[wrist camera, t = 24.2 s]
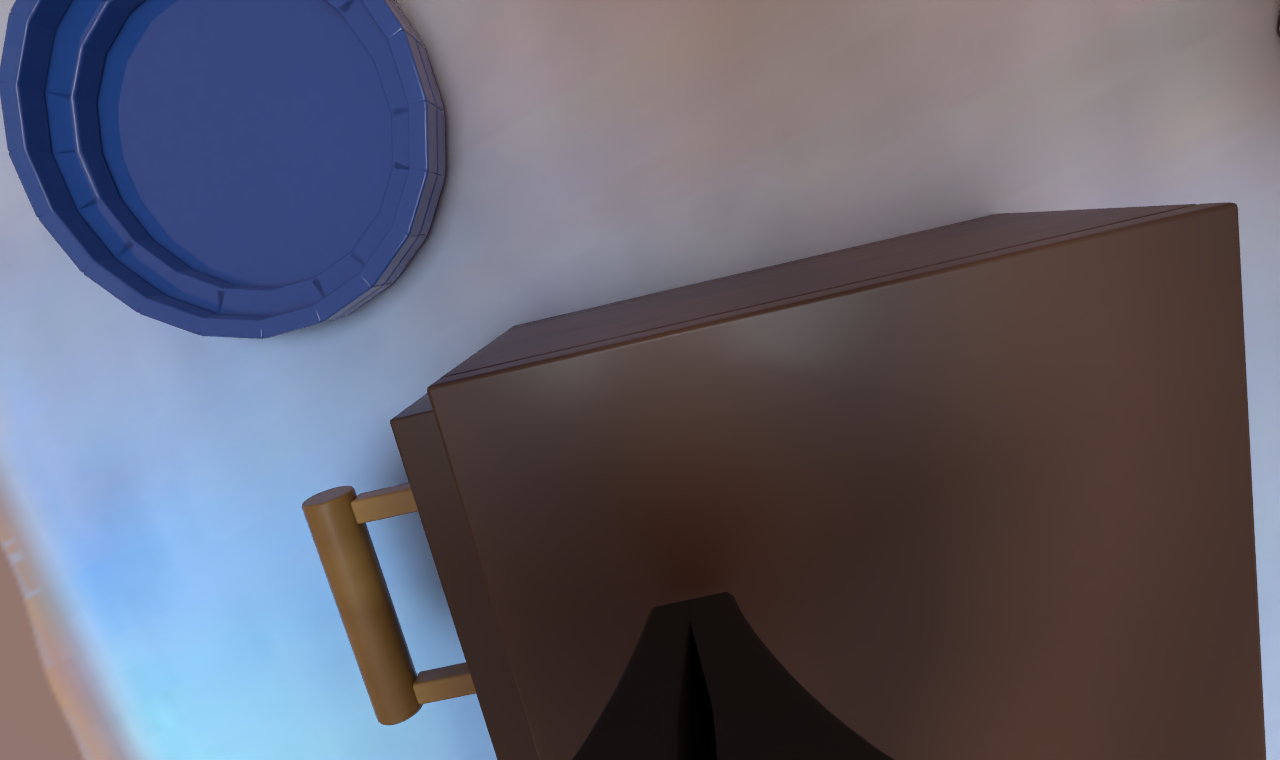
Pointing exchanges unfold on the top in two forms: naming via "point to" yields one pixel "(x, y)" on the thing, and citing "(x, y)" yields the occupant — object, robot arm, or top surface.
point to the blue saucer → (226, 152)
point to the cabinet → (897, 486)
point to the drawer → (370, 605)
